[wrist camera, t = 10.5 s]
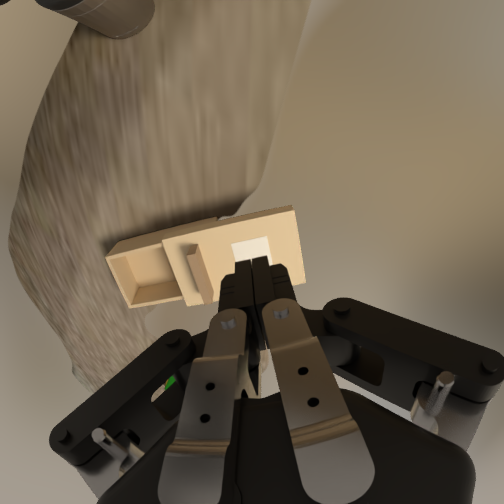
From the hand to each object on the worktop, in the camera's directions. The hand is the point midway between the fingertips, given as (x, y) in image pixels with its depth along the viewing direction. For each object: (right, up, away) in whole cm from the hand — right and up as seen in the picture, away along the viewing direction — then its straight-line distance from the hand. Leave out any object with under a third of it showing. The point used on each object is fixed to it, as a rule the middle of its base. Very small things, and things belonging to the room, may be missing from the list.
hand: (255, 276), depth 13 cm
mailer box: (-13, 0, +35) cm, 37 cm away
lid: (-2, +1, +30) cm, 30 cm away
